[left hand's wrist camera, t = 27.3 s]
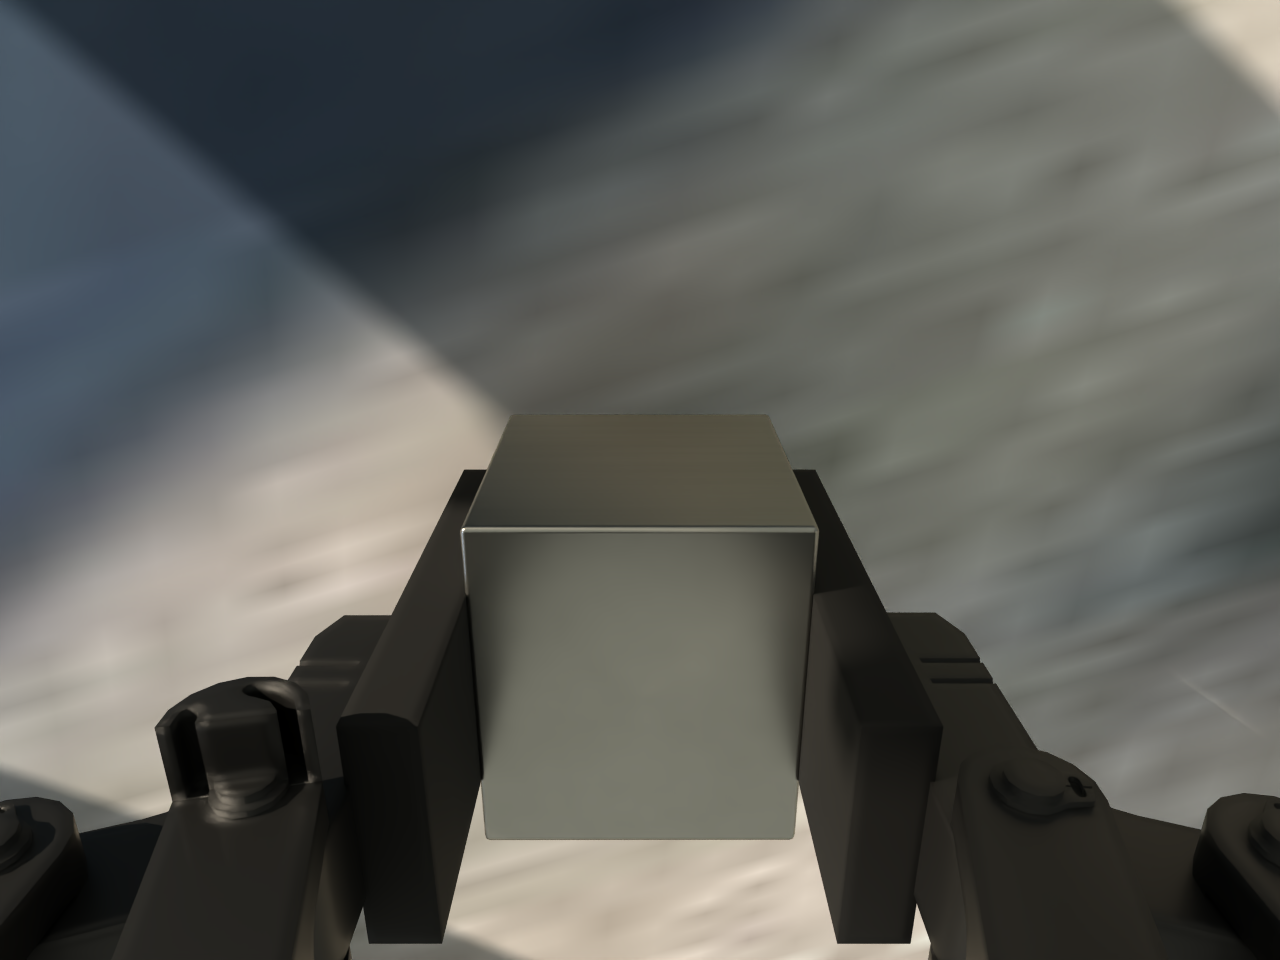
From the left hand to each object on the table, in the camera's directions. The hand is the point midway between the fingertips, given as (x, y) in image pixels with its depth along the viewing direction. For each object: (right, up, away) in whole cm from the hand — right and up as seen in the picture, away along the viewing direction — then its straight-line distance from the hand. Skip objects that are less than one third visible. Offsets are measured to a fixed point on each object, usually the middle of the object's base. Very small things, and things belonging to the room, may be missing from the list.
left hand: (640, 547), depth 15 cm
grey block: (0, 0, 0) cm, 0 cm away
